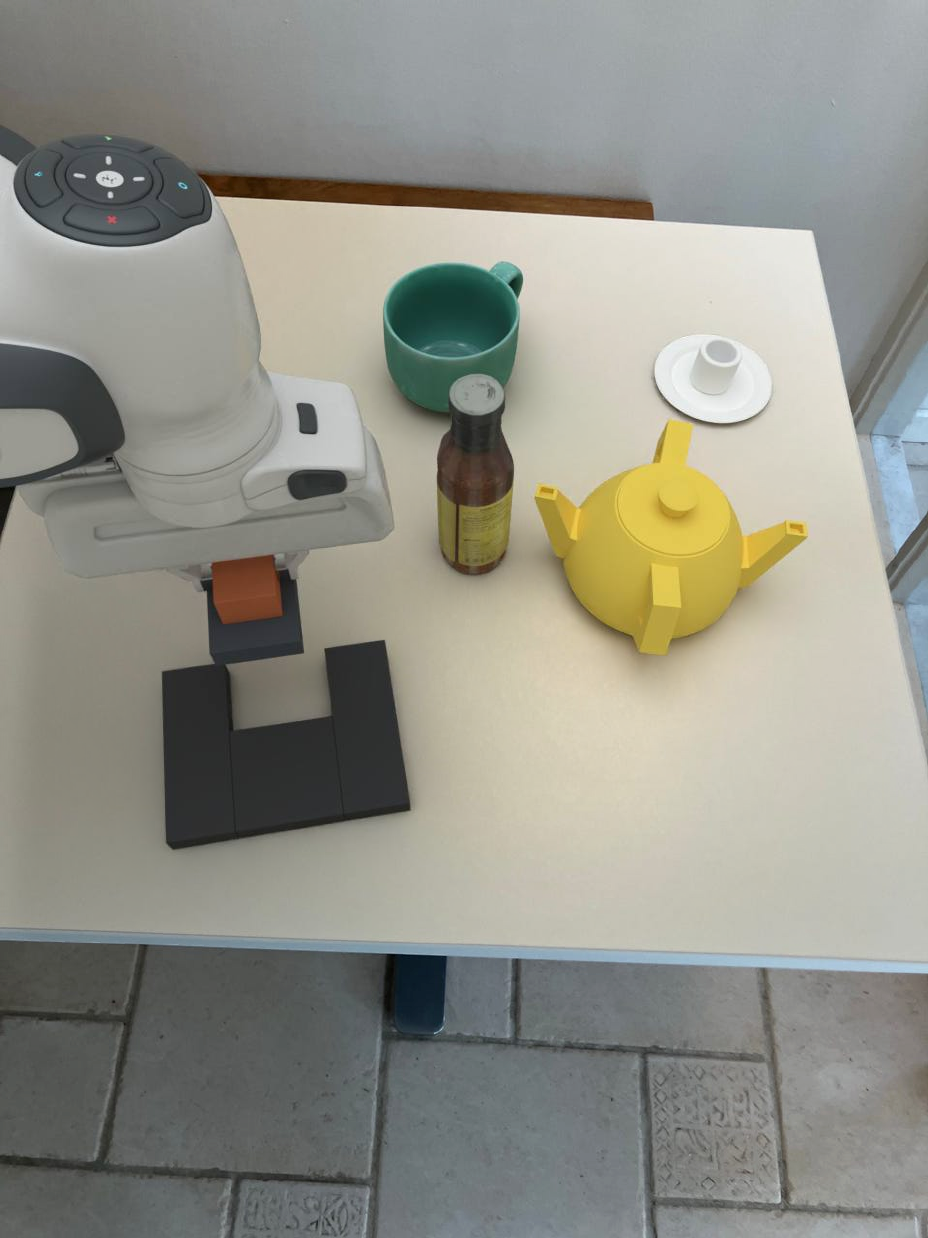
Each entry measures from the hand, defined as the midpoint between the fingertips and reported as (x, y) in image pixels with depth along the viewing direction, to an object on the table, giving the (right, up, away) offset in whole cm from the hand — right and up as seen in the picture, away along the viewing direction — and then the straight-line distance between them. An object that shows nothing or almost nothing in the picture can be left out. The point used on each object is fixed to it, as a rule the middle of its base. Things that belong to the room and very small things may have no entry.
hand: (248, 577), depth 60 cm
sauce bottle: (+15, +4, +20) cm, 25 cm away
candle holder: (+40, +21, +31) cm, 55 cm away
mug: (+15, +22, +30) cm, 40 cm away
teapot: (+31, +1, +19) cm, 37 cm away
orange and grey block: (0, -1, +3) cm, 3 cm away
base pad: (0, -13, +10) cm, 16 cm away
